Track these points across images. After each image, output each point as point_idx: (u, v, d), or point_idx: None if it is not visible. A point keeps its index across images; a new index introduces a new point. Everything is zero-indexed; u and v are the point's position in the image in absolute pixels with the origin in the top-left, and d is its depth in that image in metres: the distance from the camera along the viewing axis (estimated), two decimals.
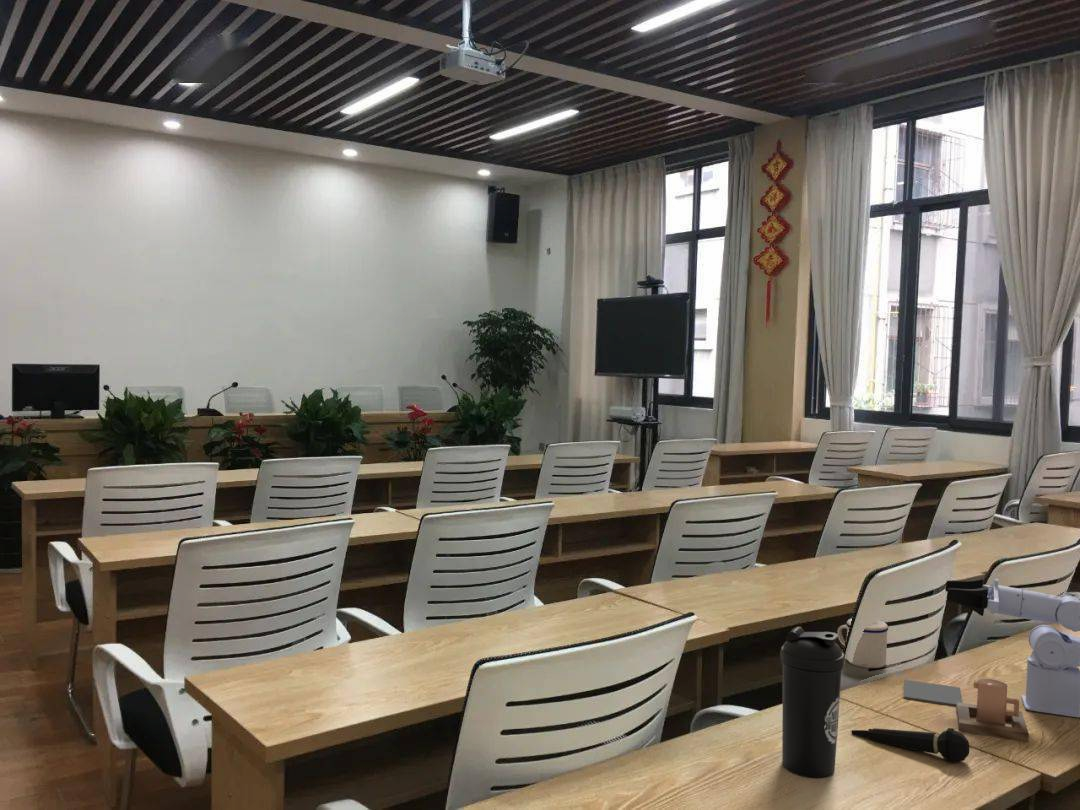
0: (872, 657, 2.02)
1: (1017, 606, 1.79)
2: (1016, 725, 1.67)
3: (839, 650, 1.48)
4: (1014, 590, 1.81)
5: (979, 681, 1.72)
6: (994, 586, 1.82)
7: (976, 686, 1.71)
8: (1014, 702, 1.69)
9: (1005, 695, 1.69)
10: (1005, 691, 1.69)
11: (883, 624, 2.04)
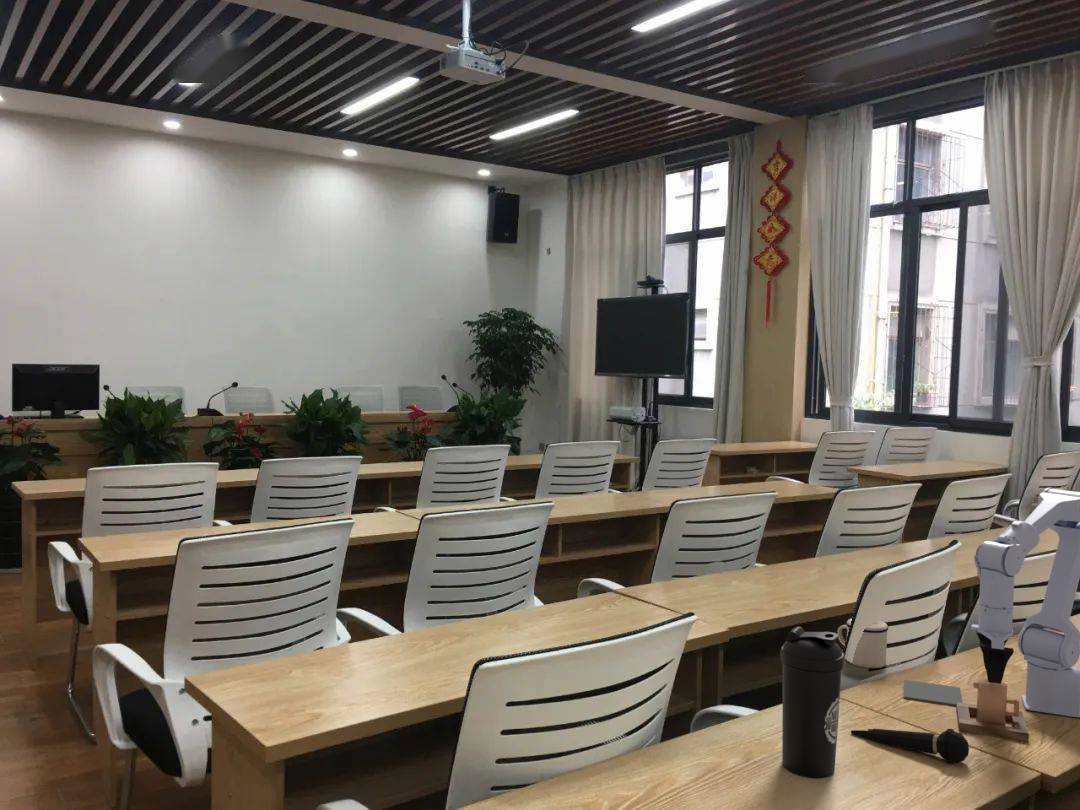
0: (872, 657, 2.02)
1: (997, 612, 1.67)
2: (1016, 725, 1.67)
3: (839, 650, 1.48)
4: (980, 612, 1.70)
5: (979, 681, 1.72)
6: (979, 631, 1.70)
7: (976, 686, 1.71)
8: (1014, 702, 1.69)
9: (1005, 695, 1.69)
10: (1005, 691, 1.69)
11: (883, 624, 2.04)
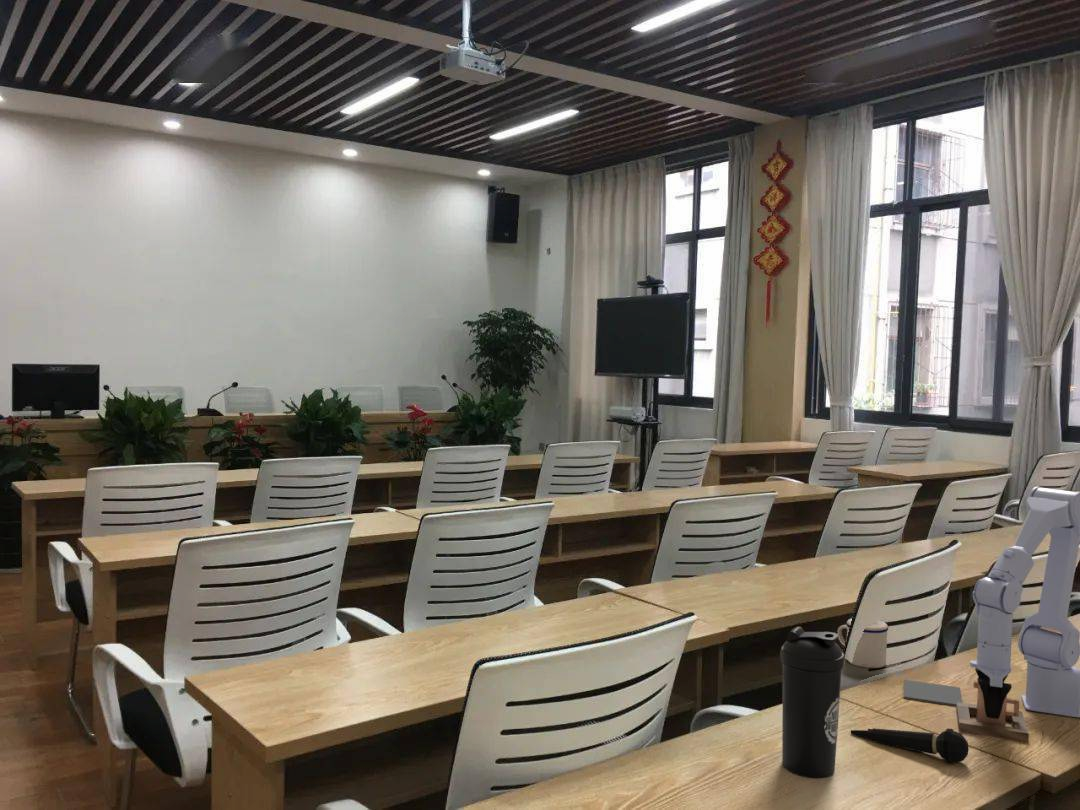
0: (872, 657, 2.02)
1: (996, 649, 1.68)
2: (1016, 725, 1.67)
3: (839, 650, 1.48)
4: (979, 648, 1.70)
5: None
6: (977, 667, 1.70)
7: (976, 686, 1.71)
8: (1014, 702, 1.69)
9: None
10: None
11: (883, 624, 2.04)
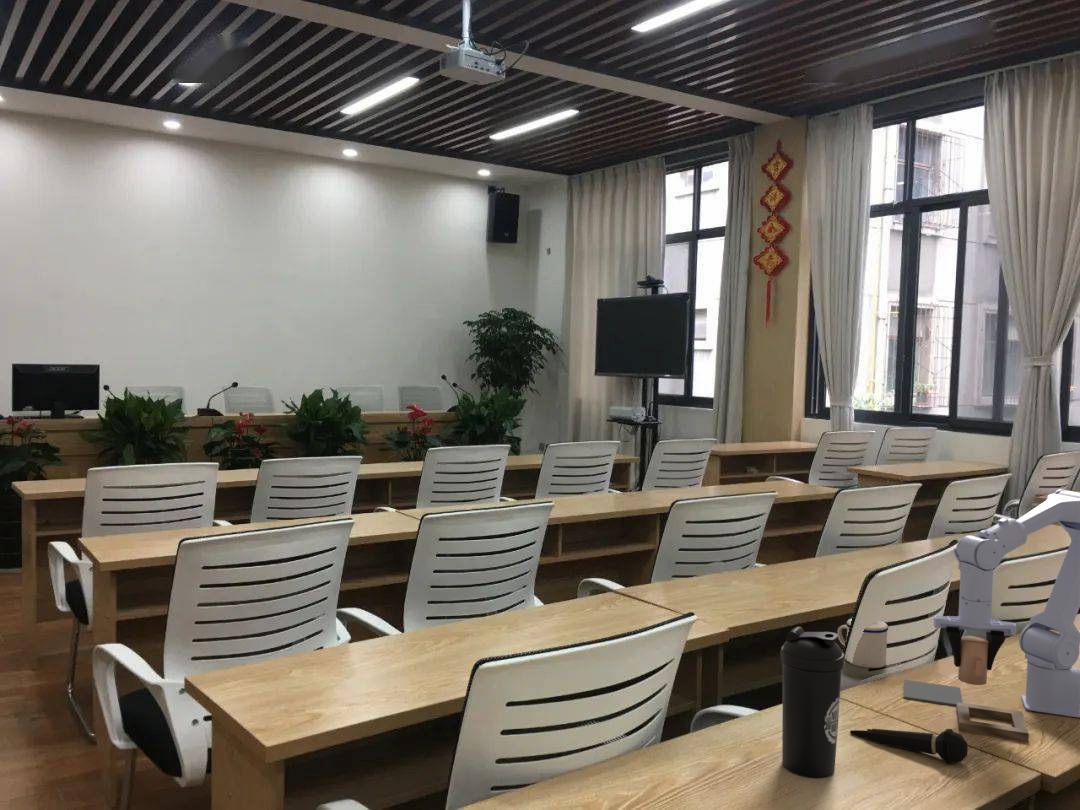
0: (872, 657, 2.02)
1: (959, 600, 1.76)
2: (1016, 725, 1.67)
3: (839, 650, 1.48)
4: None
5: (972, 636, 1.77)
6: None
7: None
8: (975, 660, 1.72)
9: (969, 650, 1.73)
10: (969, 646, 1.73)
11: (883, 624, 2.04)
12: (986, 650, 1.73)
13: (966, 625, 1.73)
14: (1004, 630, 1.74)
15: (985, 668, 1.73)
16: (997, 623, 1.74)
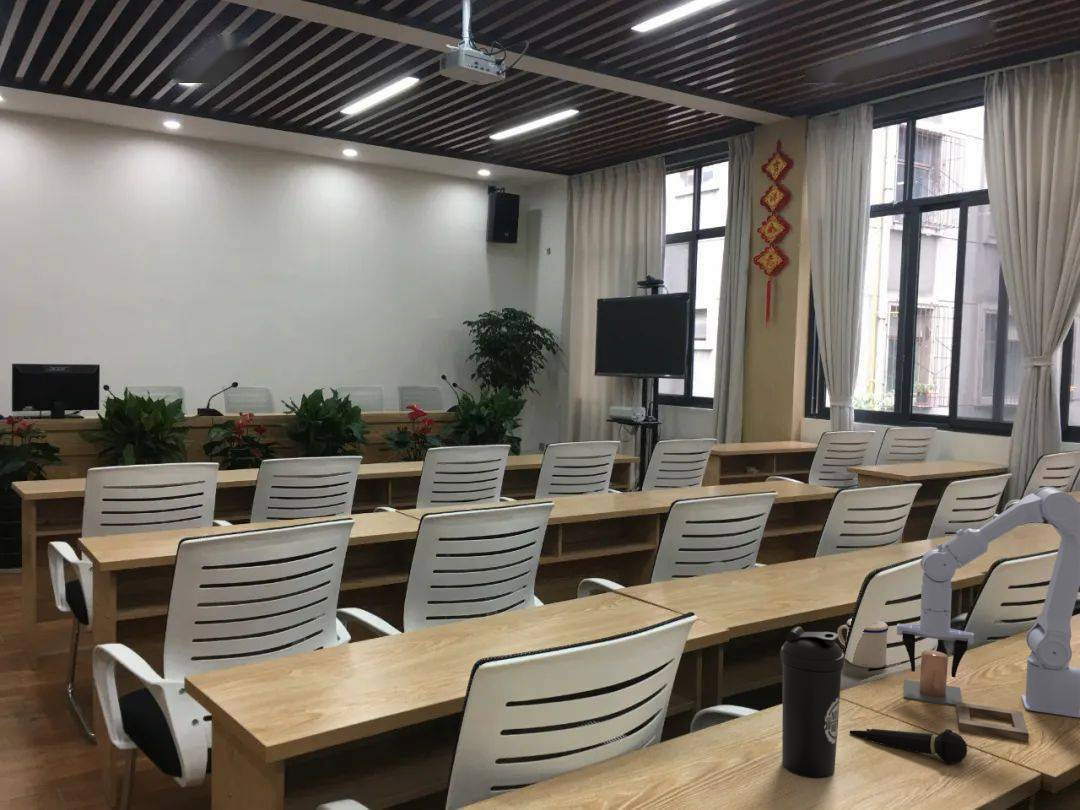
0: (872, 657, 2.02)
1: None
2: (1016, 725, 1.67)
3: (839, 650, 1.48)
4: None
5: (933, 651, 1.88)
6: None
7: None
8: (934, 674, 1.82)
9: (929, 664, 1.84)
10: (929, 660, 1.84)
11: (883, 624, 2.04)
12: (945, 664, 1.84)
13: (925, 633, 1.85)
14: (962, 639, 1.84)
15: (944, 681, 1.84)
16: (956, 632, 1.84)
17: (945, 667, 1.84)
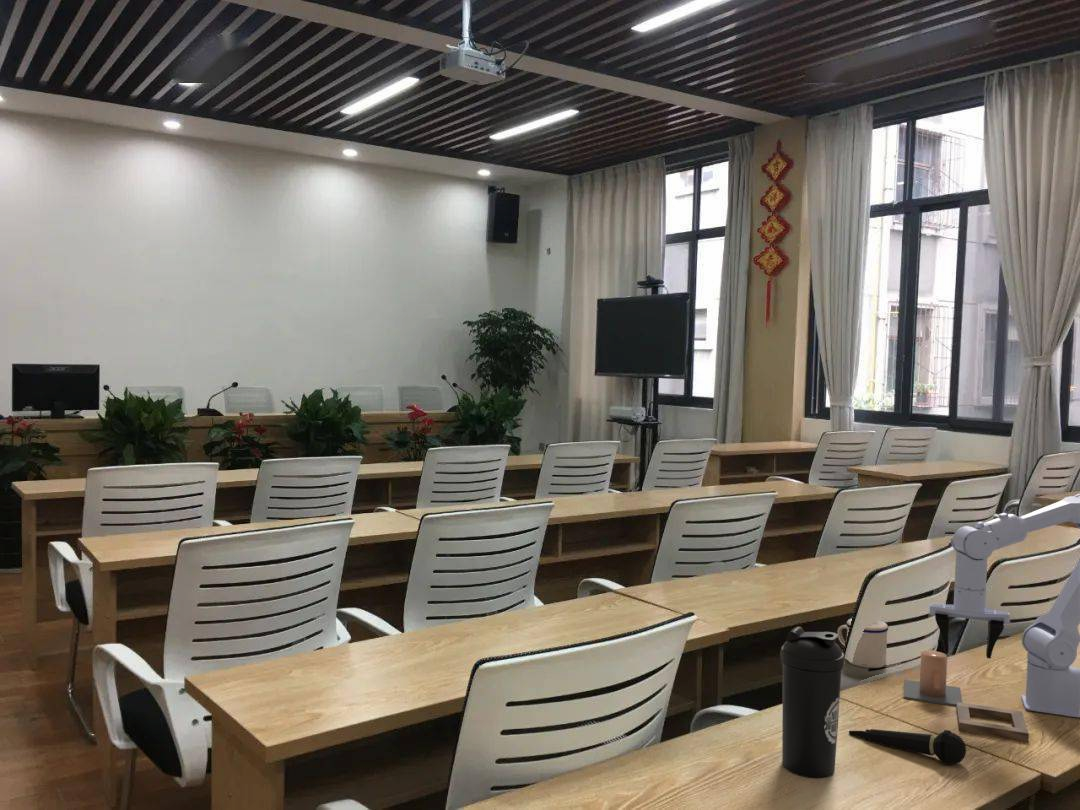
0: (872, 657, 2.02)
1: (954, 588, 1.81)
2: (1016, 725, 1.67)
3: (839, 650, 1.48)
4: None
5: (933, 651, 1.88)
6: None
7: None
8: (934, 674, 1.82)
9: (929, 664, 1.84)
10: (928, 660, 1.84)
11: (883, 624, 2.04)
12: (945, 664, 1.84)
13: (959, 613, 1.78)
14: (998, 619, 1.78)
15: (944, 681, 1.84)
16: (991, 612, 1.78)
17: (944, 667, 1.84)
